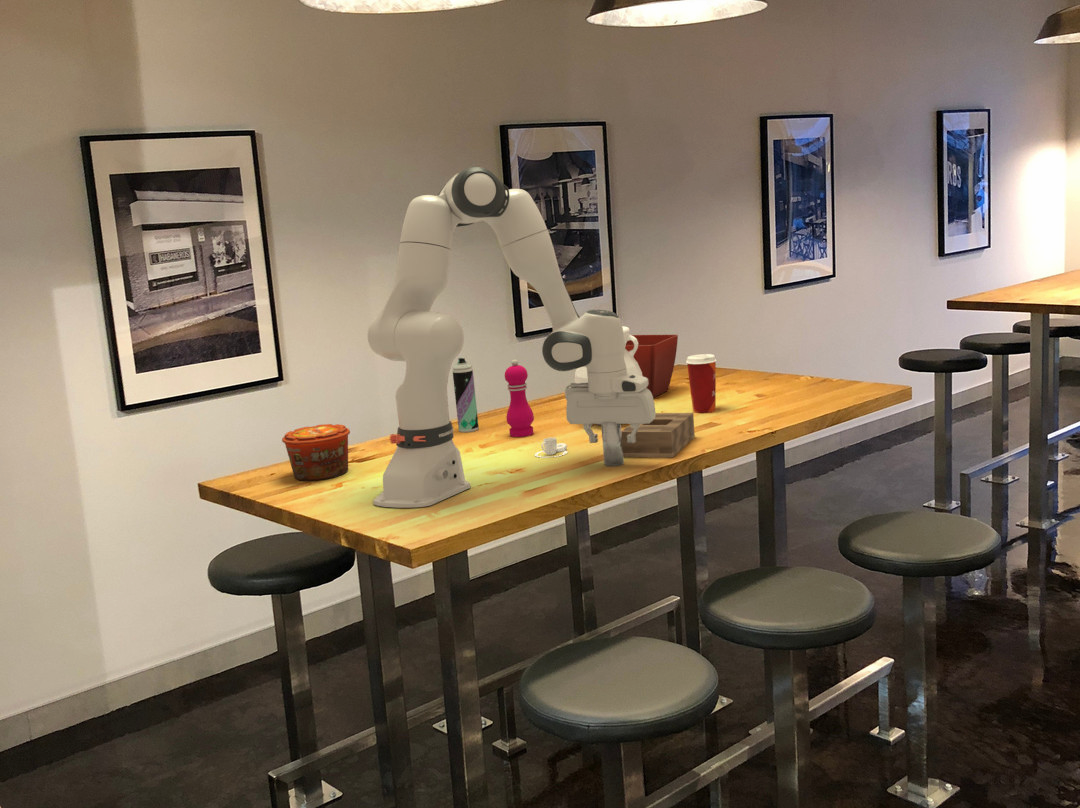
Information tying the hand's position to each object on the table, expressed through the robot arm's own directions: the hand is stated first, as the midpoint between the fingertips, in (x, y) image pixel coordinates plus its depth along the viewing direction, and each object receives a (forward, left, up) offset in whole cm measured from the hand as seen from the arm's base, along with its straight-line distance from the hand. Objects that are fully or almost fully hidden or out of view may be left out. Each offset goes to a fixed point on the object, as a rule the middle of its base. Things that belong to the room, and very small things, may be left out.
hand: (612, 442), depth 238 cm
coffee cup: (+56, -7, -5) cm, 56 cm away
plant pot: (+79, +18, -5) cm, 81 cm away
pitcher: (+43, +15, -5) cm, 45 cm away
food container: (-13, +70, -5) cm, 71 cm away
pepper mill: (+28, +35, -5) cm, 45 cm away
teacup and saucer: (+9, +16, -6) cm, 19 cm away
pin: (0, 0, -5) cm, 5 cm away
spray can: (+33, +53, -5) cm, 62 cm away
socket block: (+16, -6, -5) cm, 18 cm away
